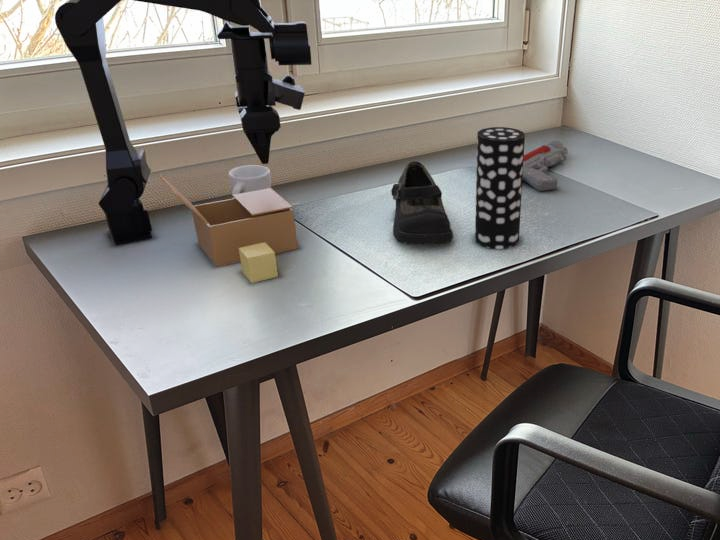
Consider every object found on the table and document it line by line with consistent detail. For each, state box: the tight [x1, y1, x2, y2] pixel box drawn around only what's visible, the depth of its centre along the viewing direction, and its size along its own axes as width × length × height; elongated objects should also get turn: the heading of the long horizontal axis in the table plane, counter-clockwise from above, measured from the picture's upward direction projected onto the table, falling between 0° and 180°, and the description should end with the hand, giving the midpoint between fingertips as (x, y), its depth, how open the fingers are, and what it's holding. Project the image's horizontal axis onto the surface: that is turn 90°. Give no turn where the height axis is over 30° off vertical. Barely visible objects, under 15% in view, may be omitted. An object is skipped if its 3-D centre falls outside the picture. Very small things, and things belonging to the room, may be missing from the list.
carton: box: [191, 187, 299, 268], centre depth 131 cm, size 15×11×8 cm
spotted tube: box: [474, 126, 526, 250], centre depth 133 cm, size 8×8×20 cm
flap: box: [157, 173, 208, 224], centre depth 123 cm, size 7×11×1 cm
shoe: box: [391, 161, 454, 245], centre depth 140 cm, size 11×24×10 cm, turn 11°
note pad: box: [239, 242, 279, 284], centre depth 123 cm, size 5×5×5 cm
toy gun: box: [522, 140, 569, 192], centre depth 171 cm, size 4×27×15 cm
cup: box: [227, 164, 272, 199], centre depth 145 cm, size 11×8×8 cm
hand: (262, 155), depth 134 cm, fingers open, 9 cm apart
